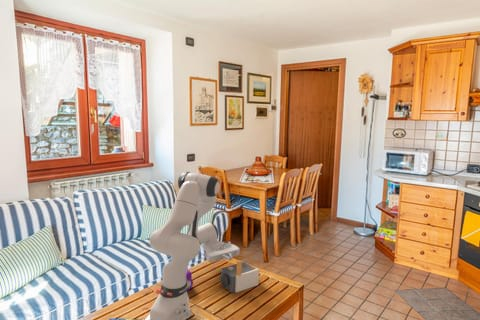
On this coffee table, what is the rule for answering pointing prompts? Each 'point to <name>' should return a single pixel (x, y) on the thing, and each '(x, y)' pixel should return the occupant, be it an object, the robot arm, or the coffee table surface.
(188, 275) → the toy camera
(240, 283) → the thin white panel
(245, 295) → the coffee table surface
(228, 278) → the gray box camera
